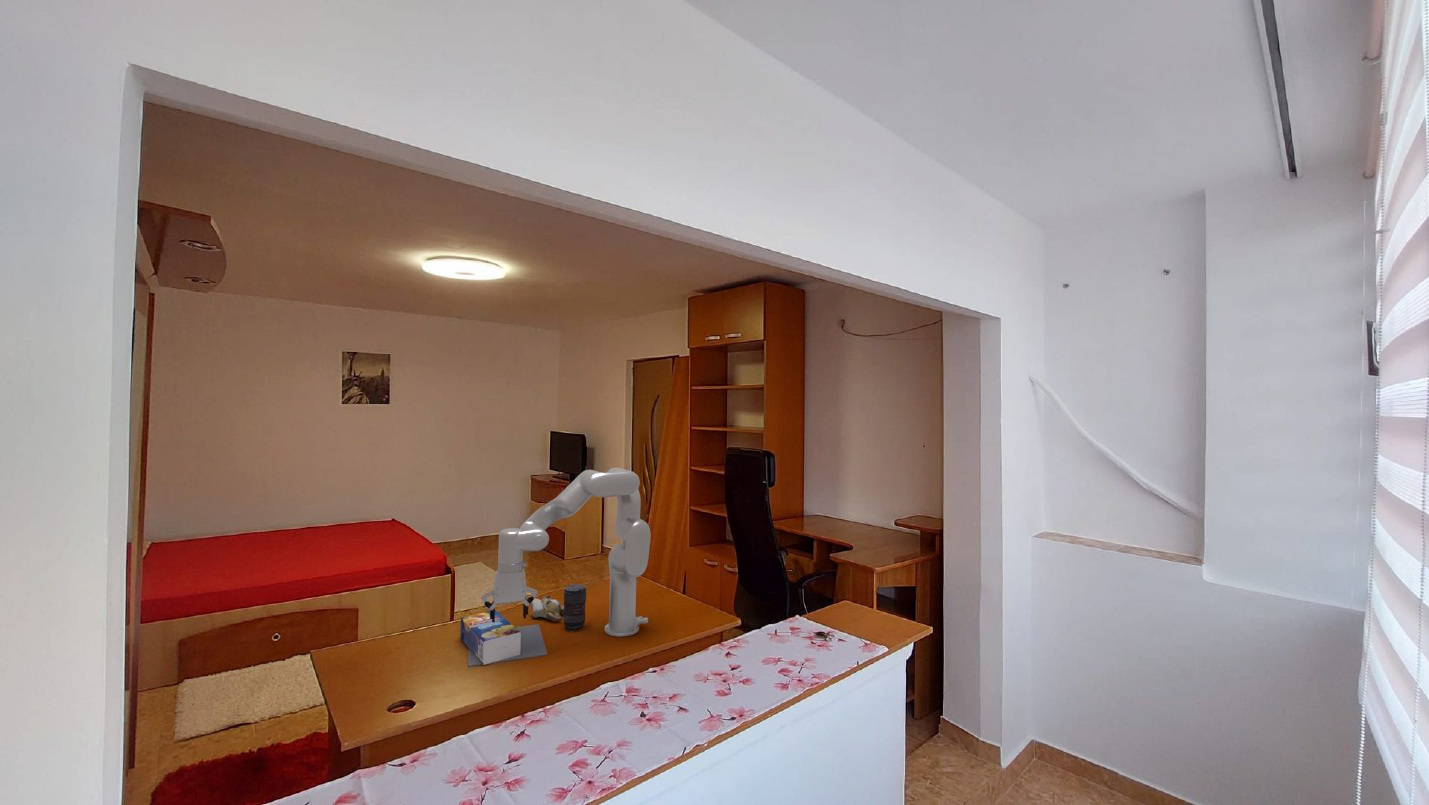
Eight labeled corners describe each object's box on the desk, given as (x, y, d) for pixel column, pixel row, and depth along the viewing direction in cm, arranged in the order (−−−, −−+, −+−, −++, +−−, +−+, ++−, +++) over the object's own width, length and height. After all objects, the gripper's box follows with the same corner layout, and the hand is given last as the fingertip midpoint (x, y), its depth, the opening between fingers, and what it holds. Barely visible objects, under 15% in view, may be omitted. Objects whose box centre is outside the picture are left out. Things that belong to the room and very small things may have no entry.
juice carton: (483, 641, 178) (460, 617, 196) (483, 665, 178) (460, 639, 196) (521, 632, 186) (495, 609, 204) (520, 654, 186) (495, 630, 204)
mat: (538, 625, 211) (538, 624, 211) (547, 655, 187) (547, 654, 187) (468, 634, 201) (468, 633, 201) (468, 667, 177) (468, 665, 177)
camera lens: (589, 625, 212) (590, 585, 212) (577, 633, 204) (578, 592, 204) (571, 622, 214) (572, 582, 214) (558, 630, 207) (559, 589, 207)
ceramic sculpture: (538, 589, 224) (574, 594, 222) (536, 610, 224) (572, 616, 222) (525, 598, 214) (562, 604, 211) (523, 621, 214) (561, 627, 212)
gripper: (536, 561, 192) (535, 611, 192) (481, 566, 185) (480, 618, 185) (539, 567, 185) (537, 619, 185) (482, 573, 178) (480, 627, 178)
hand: (509, 619), depth 185 cm, fingers open, 9 cm apart
